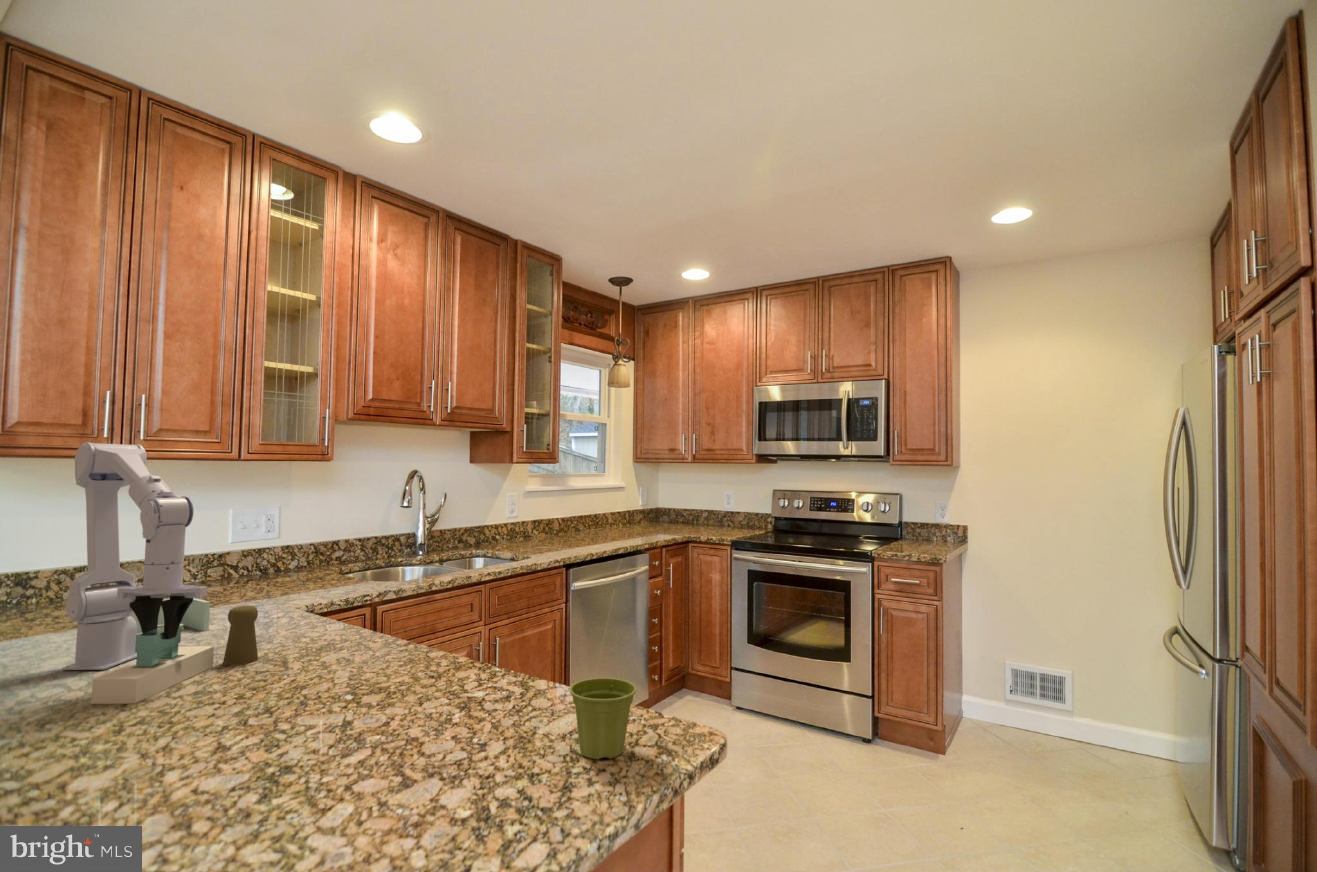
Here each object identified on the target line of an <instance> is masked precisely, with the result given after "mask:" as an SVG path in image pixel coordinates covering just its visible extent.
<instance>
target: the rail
mask: <svg viewBox="0 0 1317 872" xmlns="http://www.w3.org/2000/svg"><path fill="white" fill-rule="evenodd" d="M214 651H215V646H214V645H211V646H210V645H208V646H207V645H206V646H205V645H203V646H201V645H199V646H198V645H197V646H196V645H194V646H187V645H186V646H178V657H175V658H173V659H158V665H155V666H153V667H136V662H134V663H131V664H128V665H126V666H123V667H121V668H118V669H115V670H113V671H110V672H108V673H105V674H103V675H100V676H98V677H95V678H93V679H92V685H91V700H90V703H91V704H90V705H103V704H104V705H106V704H107V705H110V704H112V705H113V704H114V705H115V704H117V705H118V704H121V705H122V704H124V705H125V704H138V703H139V702H141V701H143V700H146V699H148V698H149V697H151V696H154V695H157V694H159V693H160V692H163V691H165V690H167V689H169V688H171V687H174V686H175V685H177V684H179V683H182V682H184V681H185V680H188V679H190V678H192V677H194V676H196V675H197V676H198V674H201V673H203V672H206V671H207V670H209V669H212V668H213V667H214V653H215V652H214Z"/></svg>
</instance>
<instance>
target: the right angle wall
mask: <svg viewBox="0 0 1317 872" xmlns="http://www.w3.org/2000/svg"><path fill="white" fill-rule="evenodd" d="M165 600H170V598H164V599H163V601H165ZM210 610H211V601H207V600H204V599H202V598H200V599H195V598H193V602H192V603H191V605H190V606H189V608H188V609H187V611H186V613H185V614H184V616H183V618H182V621H181V623H180V626H181V632H182V631H184V627H188V628H191V629H194V630H198V631H200V632H201V631H202V632H207V631H210V629H209V628H210V612H211V611H210ZM130 616H131V617H133V618H134V619H135V621H136V623H137V634H138V633H139V634H141V633H142V629H141V626H140V623H139V621H138V619H137V617H136V615H135V613H134V612H131V613H130ZM161 627H164V614H163V610H162V606H161V607H160V611H159V616H158V626H157V629H158V628H161Z"/></svg>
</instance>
